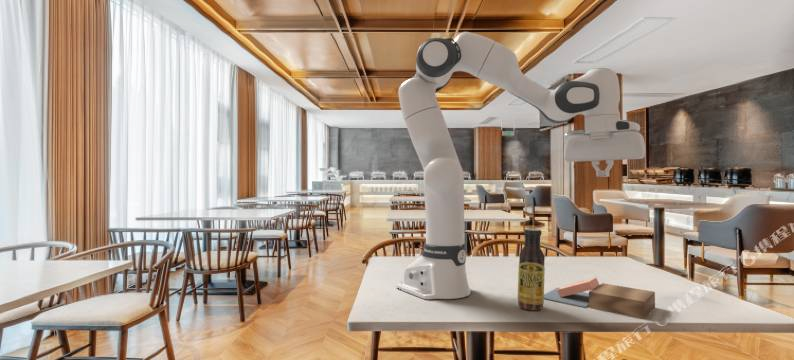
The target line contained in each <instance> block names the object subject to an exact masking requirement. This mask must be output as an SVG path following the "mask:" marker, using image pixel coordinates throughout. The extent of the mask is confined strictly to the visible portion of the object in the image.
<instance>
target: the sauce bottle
mask: <svg viewBox="0 0 794 360" xmlns="http://www.w3.org/2000/svg"><path fill="white" fill-rule="evenodd" d="M523 230H524V231H523V234H524V243H523V245H524V246H523V247H522V249H521V251H520V252H519V255H518V256H519V258H518V259H519V263H518V271H517V273H518V276H517V277H518V278H517V306H518V307H519V308H521V309H523V310H527V311H540V310H542V309H543V307H544V303H545V301H544V300H545V299H544V294H545V272H546V271H545V270H546V269H545V259H546V258H545V253H544V252H543V250H542V249H541V236H542V230H541V229H538V228H524V229H523Z"/></svg>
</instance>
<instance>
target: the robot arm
mask: <svg viewBox="0 0 794 360" xmlns="http://www.w3.org/2000/svg"><path fill="white" fill-rule="evenodd" d="M415 61H416V63H415V64H416V65H415V66H416V67H415V68H416V70H415V71H416V72H415V75H413V77H410V78H408V79H407V80H405V81H403V83H401V84H400V85H399V87H398V92H397V93H398V94H397V95H398V101H399V106H400V111H401V113H402V117H403V119H404V123H405V126H406V129H407V132H408V134H409V137H410V139H411V143H412V145H413V148H414V151H415V153H416V155H417V157H418V160H419V162H420V164H421V167H422V169H423V195H424V211H425V212H424V213H425V243H423V244H419V245H418V247H419V248H418V250H421V254H420V256H418V257H417V258H416V259H415V260H413V261H412V262H411V263H409V264H408V265H407V266H406V267H405V269H404V274H403V275H404V276H403V280H401V281H399V282H398V283H396V286H395V287H397V288H396V289H398V288H399V289H398V290H400V289H401V291H403V292H406V293H407V294H411V295H412V296H416V297H418V298H419V299H423V300H437V299H439V300H453V299H462V298H465V297H468V296H470V294H471V293H472V292H471V288H470V285H469V281H468V275H467V269H466V261H467V246H466V245H467V243H465V178H464V175H465V174H464V171H463V167H462V165H461V163H460V160H459V157H458V154H457V152H456V148H455V146H454V142H453V140H452V137H451V135H450V131H449V129H448V126H447V124H446V120H445V118H444V114H443V112H442V109H441V107H440V104H439V102H438V99H437V95H436V94H437V93H438V92H439V91H441V90H442V89H443V88H445V87H446V86H447V85H448V84H449V83H450V81H451V79H452V76H453V74H454V73H455V72H463V73H468V74H470V75H472V76H473V77H475V78H477V79H479V80H481V81H484V82H486V83H487V84H491V85H492V86H495V87H498V88H500V89H502V90H503V91H504V90H505V91H506V92H508V93H510V94H511V95H513V96H514V97H516V98H518V99H520V100H522V101H524V102H525V103H527V104H529V105H531V106H533V107H534V108H536V109H537V110H538V111H539V112H540V114H541V115H542V117H544V118H545V119H546V120H547V121H548V122H550V123H553V124H565V123H567V122H569V121H570V120H572V118H574V117H576V116H577V115H583V116H584V117H583V118H584V129H577V130H569V131H568V132H566V133H565V135H564V139H563V142H564V152H563V158H564V160H565V161H566V162H568V163H572V162H573V163H575V162H576V163H577V162H591V166H592V168H594V170H595V175H596V176H595V177H596V178H598V177H599V178H601V177H602V178H607V177H610V170H612V167H613V166H614V165H615V164H614V161H623V160H641V159H644V158H645V156H646V151H647V150H646V143H645V137H644V136H643V134H641V133H640V130H641V126H640V124H639V123H637V122H635V121H629V120H627V119H626V120H625V119H621V113H620V110H619V109H620V108H619V104H620V101H621V96H620V95H621V91H620V81H619V78H618V77H619V76H618V74H617V73H616V72H615V71H614V70H613V69H609V68H605V67H601V68H600V67H599V68H592V69H590V70H588V71H587V72H585V73H584V74H582V75H581V76H579V77H577V78H575V79H572V80H569V81H566V82H564V83H561V84H560V85H558V86H557V87H556V88H555V89H550V88H546V87H545V86H542V84H539V83H537V82H535V81H534V80H533V79H530V78H529V77H527V76H526V75H525V74H524V73H523V72H522V70H521V68H520V65H519V60H518V57H517V54H516V53H515V52H514V51H513V50H511V49H510V48H509V47H507V46H506V45H504V44H501V43H500V42H498V41H495V40H494V39H492V38H489V37H486V36H484V35H481V34H478V33H474V32H469V31H462V32H461V33H458V35H457V36H456V37H455V38H454V39H453V38H451V37H450V38H448V37H447V38H441V37H432V38H428V39H426V40H425V41H424V42H423V43H422V44H421V45H420V46H419V48H418V50H417V53H416V56H415ZM601 161H605V164H606V168H605V169H604V170H601V169H600V167H599V166H598V165H600V162H601Z"/></svg>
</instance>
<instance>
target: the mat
mask: <svg viewBox="0 0 794 360" xmlns="http://www.w3.org/2000/svg"><path fill="white" fill-rule="evenodd" d="M560 288H561V287H556V288H554V289H552V290H550V291H548V292H546V293H544V300H545V301H546V300H547V301H551V302H556V303H559V304H560V303H561V304H565V305H570V306H575V307H580V308H584V309H587V308H588V307H589V292H586V291H584V292H580V293H576V294H572V295H568V296H564V297H560V296H559V294H558V291H557V290H558V289H560Z"/></svg>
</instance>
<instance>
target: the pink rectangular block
mask: <svg viewBox="0 0 794 360" xmlns="http://www.w3.org/2000/svg"><path fill="white" fill-rule="evenodd" d="M599 285H600V283H599V281H598V278H597V277H594V278H590V279H585V280H581V281H579V282H575V283H570V284H567V285H563V286H562V287H559V288H560V289H558V290H557V291H558V294H559V296H560V297H564V296H568V295H572V294H576V293H580V292H589V291H591V290H592V289H594V288H596V287H597V286H599Z"/></svg>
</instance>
